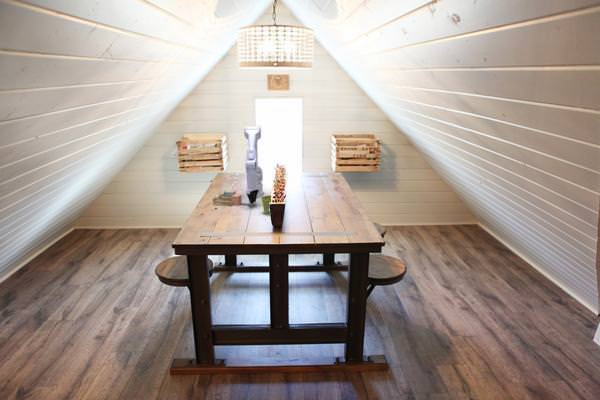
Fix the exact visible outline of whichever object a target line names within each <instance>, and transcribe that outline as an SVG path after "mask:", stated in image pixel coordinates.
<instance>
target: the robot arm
mask: <svg viewBox="0 0 600 400" xmlns="http://www.w3.org/2000/svg"><path fill="white" fill-rule="evenodd" d="M243 127H244V128H243V133H244V137H245V139H246V140H248V148H247V150H246V160H245V161H244V162H245V163H244V165H245V166H244V167H245V172H246V185H247V186H246V190H245V195H246V196H247V198H248V202H249V204H254V205H255V203H256V201H257V198H261V197H262V196H264V194H265V192H264V189H263V188H264V187H263V185H264V184H263V179H264V177H263V176H264V174H263V169H262V167H260V166H259V162H258V160H259V159H258V155H259V154H258V141H259V140H260V139H261V138H262V127H261V125H245V126H243Z"/></svg>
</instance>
